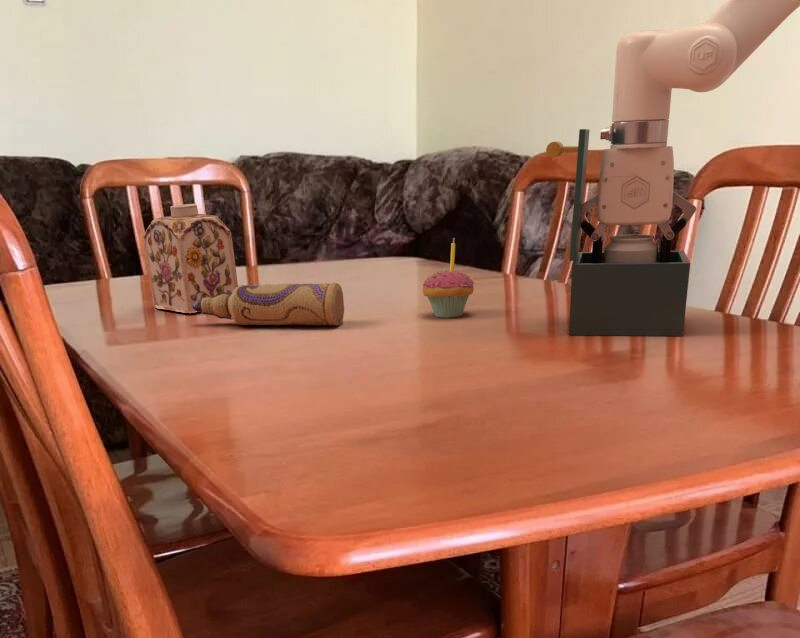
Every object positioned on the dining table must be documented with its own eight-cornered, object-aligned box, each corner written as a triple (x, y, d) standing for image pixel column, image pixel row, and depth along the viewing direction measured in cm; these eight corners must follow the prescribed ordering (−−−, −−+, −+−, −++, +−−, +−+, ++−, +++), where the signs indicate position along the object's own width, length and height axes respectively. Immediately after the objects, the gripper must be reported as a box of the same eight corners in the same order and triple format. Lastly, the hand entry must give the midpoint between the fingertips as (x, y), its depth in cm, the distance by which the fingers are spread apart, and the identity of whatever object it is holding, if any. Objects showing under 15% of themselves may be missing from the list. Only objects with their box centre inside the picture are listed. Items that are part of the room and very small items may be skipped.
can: (592, 322, 123) (597, 237, 118) (611, 313, 128) (616, 232, 123) (641, 326, 119) (648, 238, 114) (659, 317, 125) (666, 233, 119)
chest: (677, 317, 128) (684, 250, 124) (682, 336, 116) (690, 263, 112) (573, 316, 132) (576, 252, 128) (568, 335, 120) (571, 264, 116)
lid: (589, 129, 120) (552, 129, 121) (585, 129, 108) (544, 129, 109) (579, 249, 128) (545, 248, 129) (575, 261, 115) (536, 260, 117)
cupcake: (438, 309, 143) (437, 236, 138) (483, 312, 139) (483, 236, 134) (414, 318, 136) (411, 242, 131) (460, 321, 132) (459, 242, 127)
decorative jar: (242, 305, 155) (229, 202, 147) (190, 315, 147) (174, 207, 140) (204, 300, 162) (190, 201, 155) (152, 309, 155) (135, 206, 147)
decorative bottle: (348, 320, 137) (346, 279, 134) (334, 330, 130) (331, 287, 127) (206, 319, 143) (201, 279, 140) (186, 329, 136) (179, 287, 134)
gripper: (573, 139, 112) (567, 272, 119) (708, 133, 108) (694, 271, 115) (575, 139, 118) (570, 265, 126) (703, 133, 114) (690, 264, 122)
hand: (629, 267), depth 121 cm, fingers open, 8 cm apart
